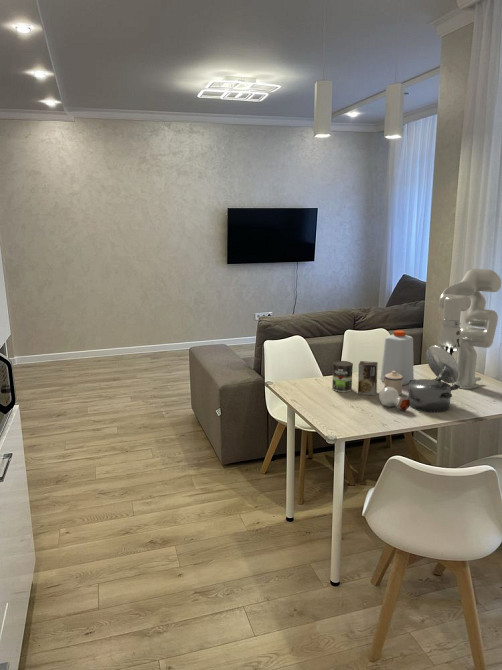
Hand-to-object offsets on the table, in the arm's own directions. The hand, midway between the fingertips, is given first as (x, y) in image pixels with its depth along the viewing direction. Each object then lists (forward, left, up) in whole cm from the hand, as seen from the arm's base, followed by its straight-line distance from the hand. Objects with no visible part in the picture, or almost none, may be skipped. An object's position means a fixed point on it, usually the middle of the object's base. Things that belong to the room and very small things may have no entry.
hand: (447, 360), depth 252 cm
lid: (+4, 0, -2) cm, 4 cm away
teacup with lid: (+14, -23, -21) cm, 34 cm away
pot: (+10, 0, -21) cm, 23 cm away
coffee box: (+26, -27, -21) cm, 43 cm away
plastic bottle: (-1, -37, -21) cm, 43 cm away
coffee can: (+34, -38, -21) cm, 55 cm away
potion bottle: (+27, -5, -21) cm, 34 cm away
